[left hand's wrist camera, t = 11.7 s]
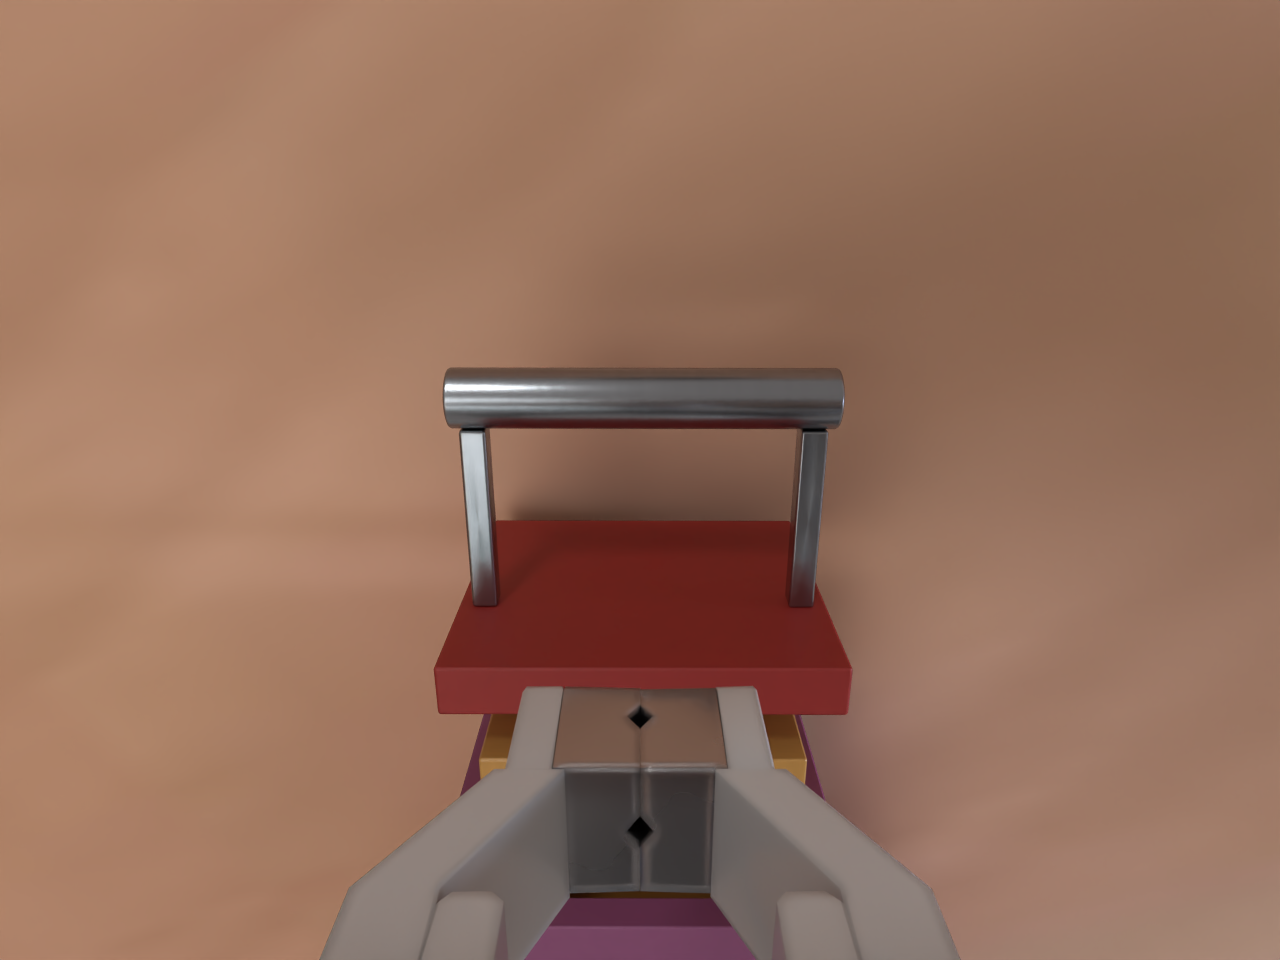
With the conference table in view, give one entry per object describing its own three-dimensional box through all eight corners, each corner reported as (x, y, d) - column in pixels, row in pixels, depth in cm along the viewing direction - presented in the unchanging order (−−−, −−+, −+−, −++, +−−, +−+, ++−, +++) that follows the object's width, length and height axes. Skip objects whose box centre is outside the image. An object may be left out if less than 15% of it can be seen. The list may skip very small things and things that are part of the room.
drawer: (482, 327, 22) (405, 402, 15) (804, 328, 22) (882, 404, 15) (515, 821, 29) (471, 1045, 21) (768, 821, 29) (812, 1045, 21)
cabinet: (493, 678, 28) (420, 926, 19) (791, 679, 28) (864, 927, 18) (513, 952, 32) (462, 1259, 23) (769, 952, 32) (819, 1259, 23)
